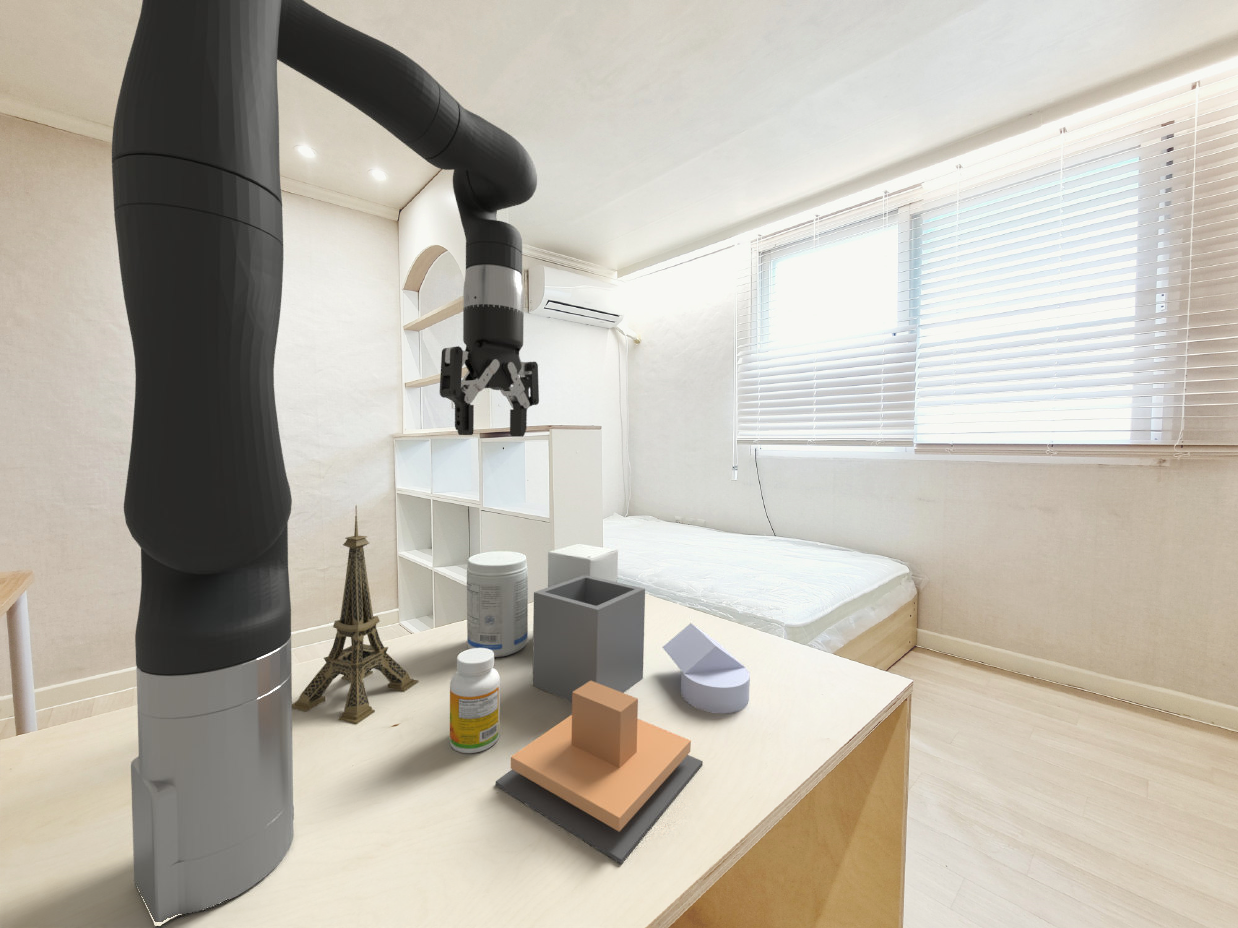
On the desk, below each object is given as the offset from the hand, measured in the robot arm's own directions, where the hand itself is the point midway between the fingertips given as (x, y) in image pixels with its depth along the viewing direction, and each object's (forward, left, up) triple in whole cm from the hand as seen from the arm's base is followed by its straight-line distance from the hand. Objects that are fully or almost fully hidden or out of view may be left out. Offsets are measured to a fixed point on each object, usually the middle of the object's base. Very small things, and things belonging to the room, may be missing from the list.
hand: (492, 435), depth 64 cm
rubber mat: (-4, -22, -34) cm, 41 cm away
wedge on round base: (+19, -23, -34) cm, 46 cm away
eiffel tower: (-11, +13, -34) cm, 39 cm away
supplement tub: (+10, +10, -34) cm, 37 cm away
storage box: (+10, -9, -34) cm, 37 cm away
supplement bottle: (-8, -7, -34) cm, 36 cm away
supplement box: (+22, +2, -34) cm, 41 cm away
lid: (-4, -22, -34) cm, 40 cm away
